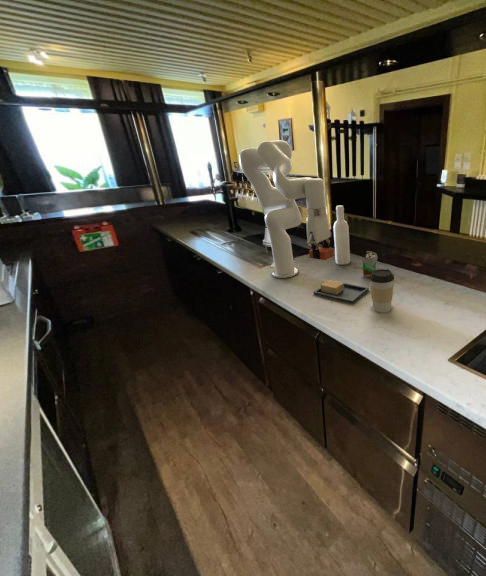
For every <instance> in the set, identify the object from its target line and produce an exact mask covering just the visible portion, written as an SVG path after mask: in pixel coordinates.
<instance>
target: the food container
mask: <svg viewBox="0 0 486 576" xmlns="http://www.w3.org/2000/svg"><path fill="white" fill-rule="evenodd" d="M378 259H379V257H378V254H377V253H376V252H374V251H370V250H366V253H365V255H364V258H362V273H363V278H370V275H371V274H372V273H373V271H375V270H377V261H378Z"/></svg>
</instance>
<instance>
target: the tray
mask: <svg viewBox="0 0 486 576" xmlns="http://www.w3.org/2000/svg"><path fill="white" fill-rule="evenodd" d="M331 280H332V279H331ZM332 281H334V280H332ZM343 283H344V290H343V291H341V292H340V293H338V294H337V295H335V294H330V293H326V292H322V291H321V286H320V287H319V288H317V289H316V290H314V291H313V295H314V296H319V297H321V298H326V299H331V300H334V301H339V302H342V303H347V304H351V305H353V304H354V303H355V302H357V301H358V300H359V299H360V298H361V297H363V296H364V295H366V293H367V292H370V291H369V290H370V289H369V287H367V286H363V285H362V286H361V285H356V284H351V283H347V282H343Z"/></svg>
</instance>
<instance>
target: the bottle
mask: <svg viewBox="0 0 486 576" xmlns="http://www.w3.org/2000/svg"><path fill="white" fill-rule="evenodd" d="M335 211H336V221H334V223H333V226H332V227H333V240H334V255H335V256H334V258H335V259H334V260H335V264H336V265H341V266H344V265H349V264H350V263H351V249H350V248H351V247H350V232H349V230H350V229H349V228H350V227H349V224H348V221H346V220H345V208H344V205H336V207H335Z"/></svg>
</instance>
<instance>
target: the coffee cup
mask: <svg viewBox="0 0 486 576" xmlns="http://www.w3.org/2000/svg"><path fill="white" fill-rule="evenodd" d="M394 280H395V274H393V273H392V271H391V269H388V268H387V269H382V268H381V269H379V268H378V269H376V270H375V271H373V273H372V274H371V275H370V277H369V281H370V282H369V283H370V284H369V286H370V295H371V301H372V302H371V303H372V310H373V311H375V312H377V313H388V312H390V311H391V309H392V302H393V301H392V300H393V296H394V295H393V293H394V286H395V285H394V282H395V281H394Z"/></svg>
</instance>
